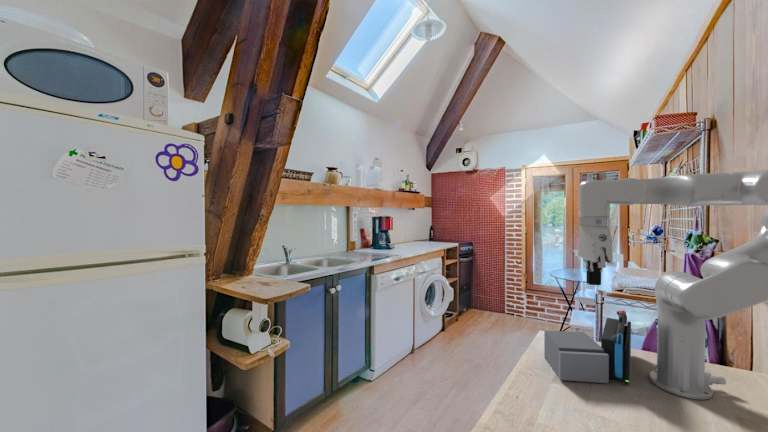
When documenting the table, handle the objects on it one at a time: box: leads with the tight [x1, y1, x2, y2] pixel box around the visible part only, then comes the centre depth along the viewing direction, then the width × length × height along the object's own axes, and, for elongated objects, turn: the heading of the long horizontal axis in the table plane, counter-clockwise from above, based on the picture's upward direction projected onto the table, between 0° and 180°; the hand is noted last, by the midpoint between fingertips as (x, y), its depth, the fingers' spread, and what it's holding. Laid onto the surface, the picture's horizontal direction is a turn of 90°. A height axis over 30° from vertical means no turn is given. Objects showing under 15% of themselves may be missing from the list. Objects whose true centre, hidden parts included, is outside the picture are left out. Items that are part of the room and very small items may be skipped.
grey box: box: [543, 330, 604, 379], centre depth 95 cm, size 12×12×9 cm
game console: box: [600, 310, 632, 386], centre depth 95 cm, size 28×6×15 cm, turn 140°
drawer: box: [558, 351, 610, 384], centre depth 94 cm, size 13×13×8 cm
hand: (593, 284), depth 91 cm, fingers closed
